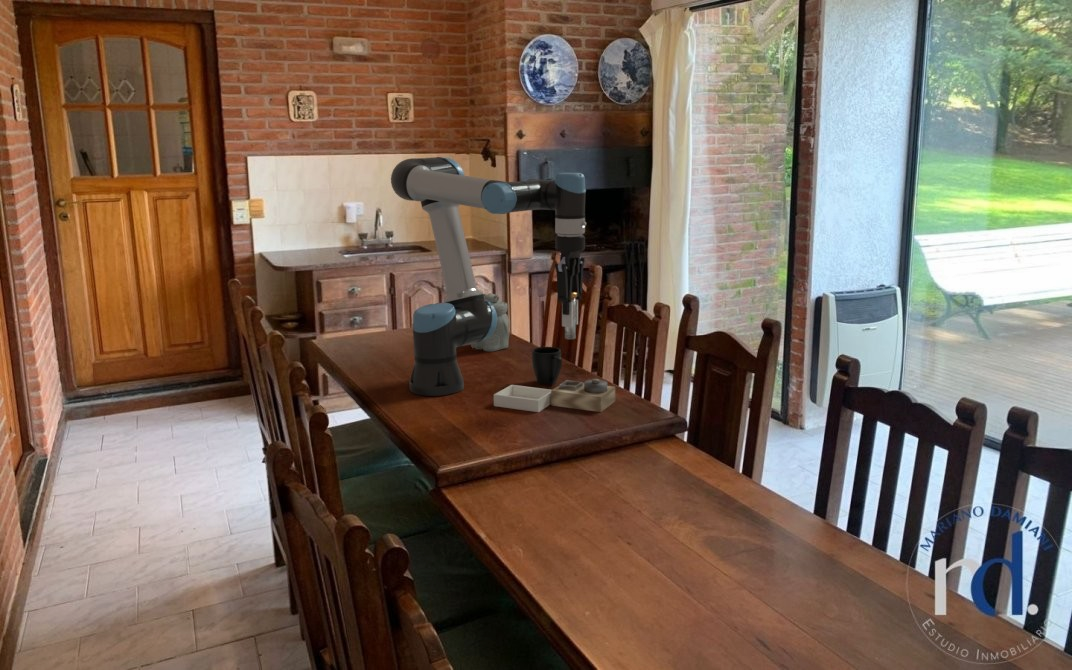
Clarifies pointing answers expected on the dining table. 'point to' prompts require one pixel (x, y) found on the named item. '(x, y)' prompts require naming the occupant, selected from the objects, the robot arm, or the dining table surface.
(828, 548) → the dining table surface
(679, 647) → the dining table surface
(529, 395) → the tray
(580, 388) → the beige compartment box
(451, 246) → the robot arm
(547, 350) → the mug
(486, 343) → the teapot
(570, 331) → the pin
